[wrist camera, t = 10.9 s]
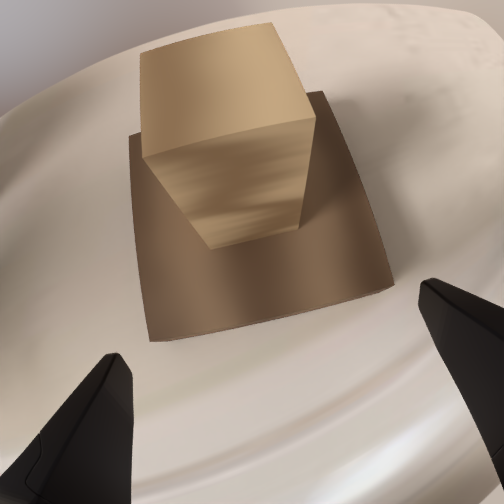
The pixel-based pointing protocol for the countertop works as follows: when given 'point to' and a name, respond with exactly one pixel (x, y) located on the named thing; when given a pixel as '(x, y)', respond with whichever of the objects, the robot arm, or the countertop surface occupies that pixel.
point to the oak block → (228, 132)
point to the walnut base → (258, 249)
